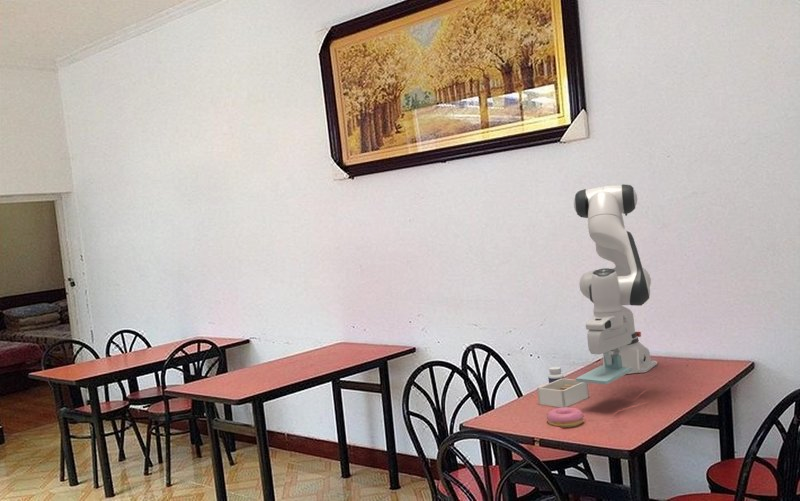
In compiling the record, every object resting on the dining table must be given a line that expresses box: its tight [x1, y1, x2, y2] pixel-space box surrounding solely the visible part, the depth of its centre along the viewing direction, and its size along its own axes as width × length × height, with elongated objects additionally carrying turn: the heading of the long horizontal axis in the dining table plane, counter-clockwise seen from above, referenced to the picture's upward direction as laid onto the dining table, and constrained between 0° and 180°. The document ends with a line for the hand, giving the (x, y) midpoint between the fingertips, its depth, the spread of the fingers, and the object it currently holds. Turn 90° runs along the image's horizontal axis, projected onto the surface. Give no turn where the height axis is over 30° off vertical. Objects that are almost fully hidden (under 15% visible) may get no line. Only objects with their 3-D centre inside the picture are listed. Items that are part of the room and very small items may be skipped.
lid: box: [574, 354, 632, 385], centre depth 222 cm, size 15×11×5 cm
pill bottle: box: [547, 366, 565, 384], centre depth 247 cm, size 5×5×9 cm
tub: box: [536, 378, 590, 408], centre depth 234 cm, size 14×10×6 cm
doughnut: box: [546, 406, 585, 429], centre depth 212 cm, size 11×11×4 cm
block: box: [560, 385, 574, 390], centre depth 236 cm, size 4×4×4 cm
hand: (613, 362), depth 226 cm, fingers closed on lid, 2 cm apart
